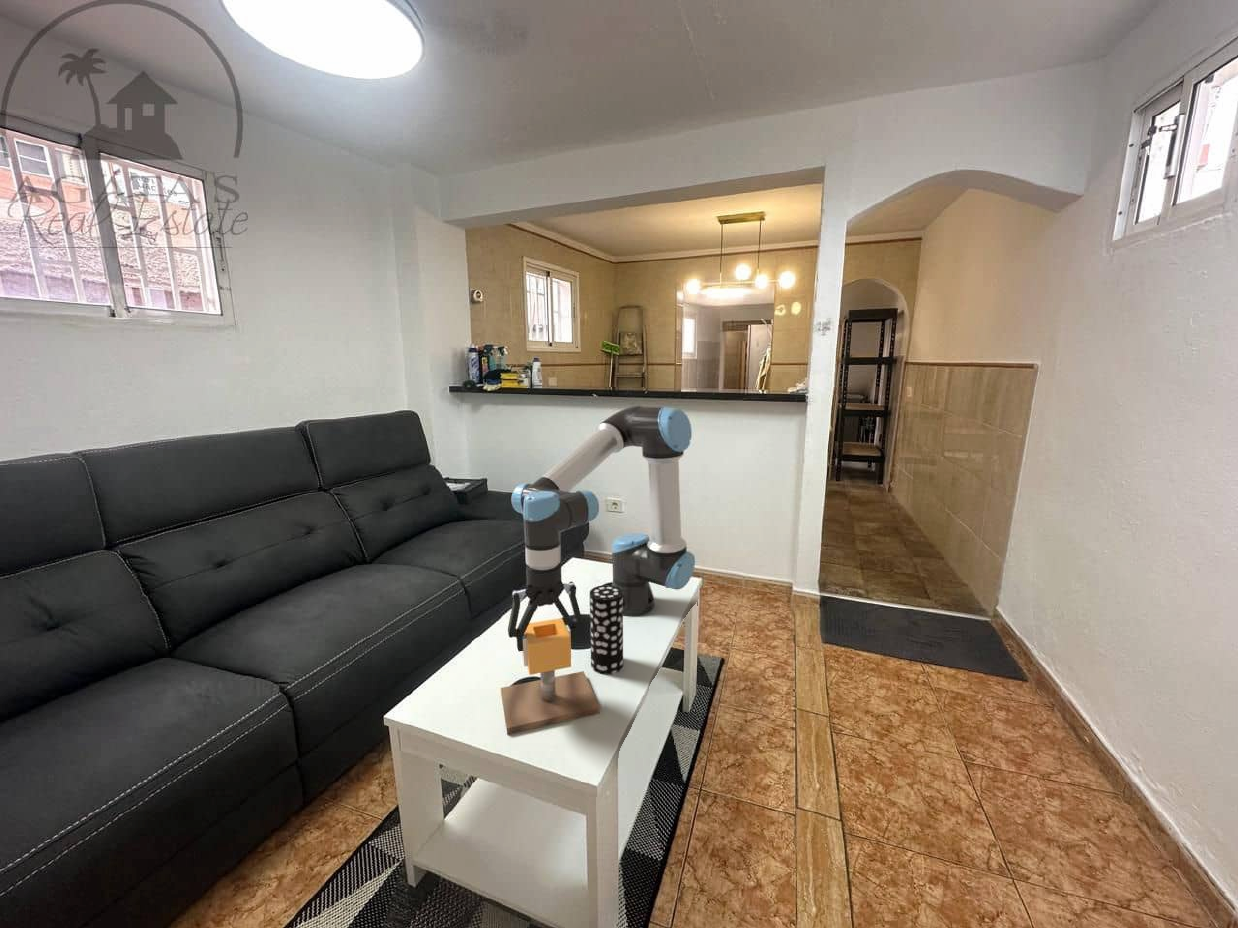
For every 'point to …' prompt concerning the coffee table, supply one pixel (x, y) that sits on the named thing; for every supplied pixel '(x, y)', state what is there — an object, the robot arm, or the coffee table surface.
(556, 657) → the collar
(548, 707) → the post board
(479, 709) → the coffee table surface
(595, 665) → the white-spotted black cylinder
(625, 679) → the coffee table surface
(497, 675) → the coffee table surface
